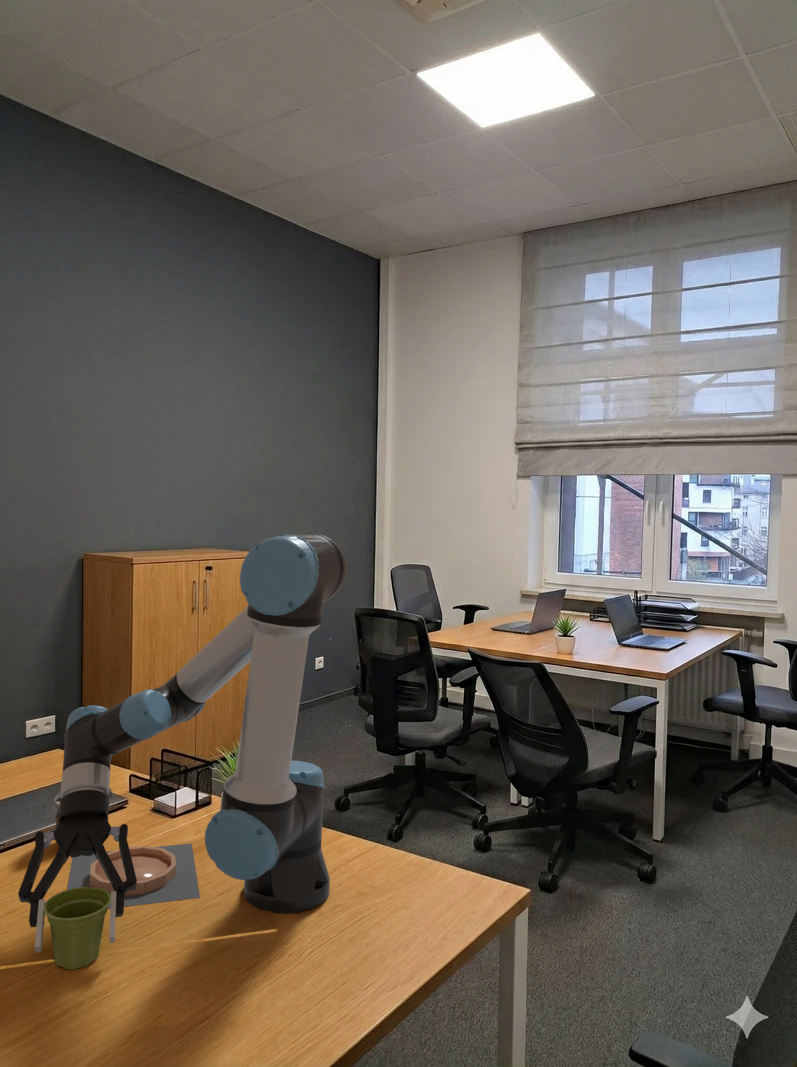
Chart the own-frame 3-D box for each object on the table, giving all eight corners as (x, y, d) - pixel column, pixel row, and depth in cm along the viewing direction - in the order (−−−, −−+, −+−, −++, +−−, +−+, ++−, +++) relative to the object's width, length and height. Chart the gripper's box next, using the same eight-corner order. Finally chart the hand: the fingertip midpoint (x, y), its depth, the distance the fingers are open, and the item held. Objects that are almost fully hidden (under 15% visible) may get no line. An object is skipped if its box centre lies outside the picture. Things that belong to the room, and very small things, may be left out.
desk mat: (191, 845, 157) (191, 843, 157) (200, 899, 136) (200, 897, 136) (72, 857, 150) (72, 854, 150) (62, 916, 129) (62, 913, 129)
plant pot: (41, 983, 112) (43, 923, 111) (42, 947, 120) (44, 892, 120) (111, 969, 115) (113, 912, 115) (107, 936, 124) (109, 882, 124)
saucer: (173, 853, 152) (173, 843, 152) (177, 889, 139) (177, 878, 138) (92, 861, 148) (92, 851, 148) (87, 900, 134) (88, 888, 134)
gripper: (154, 801, 135) (153, 942, 121) (13, 813, 128) (-6, 963, 114) (155, 782, 130) (155, 926, 116) (8, 793, 123) (-12, 947, 109)
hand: (75, 944), depth 115 cm, fingers closed on plant pot, 9 cm apart
